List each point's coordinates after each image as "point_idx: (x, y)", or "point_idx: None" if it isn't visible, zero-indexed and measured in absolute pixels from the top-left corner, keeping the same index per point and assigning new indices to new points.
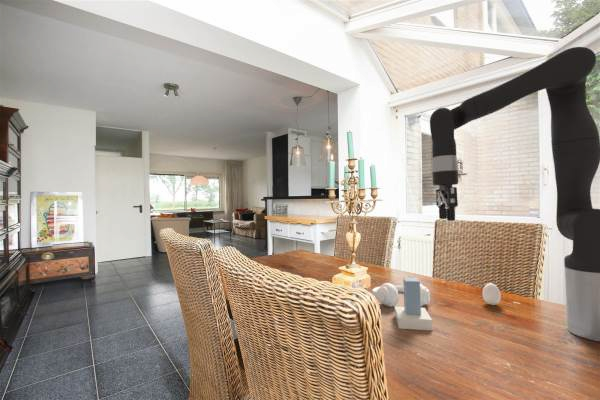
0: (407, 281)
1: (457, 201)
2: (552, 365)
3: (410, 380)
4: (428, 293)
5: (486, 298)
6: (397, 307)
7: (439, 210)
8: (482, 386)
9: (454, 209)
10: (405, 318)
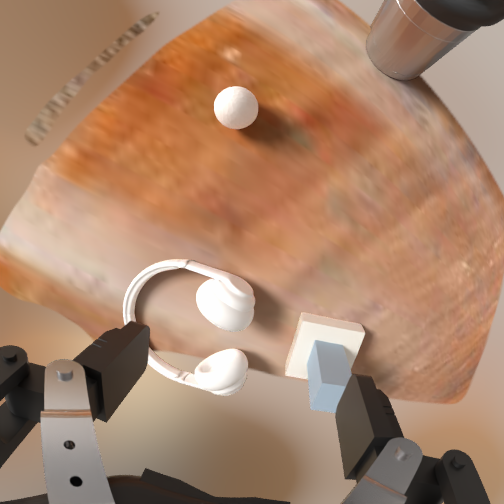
0: None
1: (480, 481)
2: (475, 206)
3: (453, 389)
4: (244, 290)
5: (244, 127)
6: (291, 372)
7: (114, 408)
8: (483, 323)
9: (390, 433)
10: None
